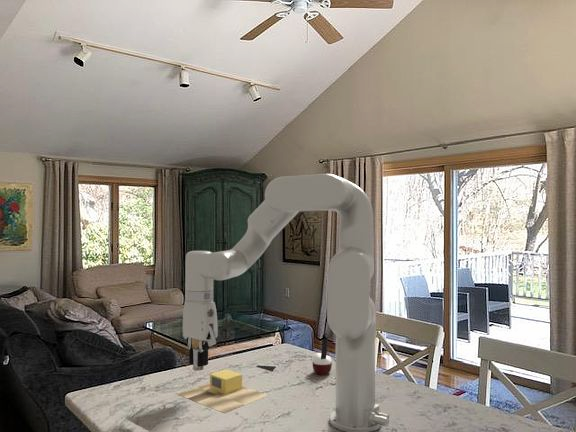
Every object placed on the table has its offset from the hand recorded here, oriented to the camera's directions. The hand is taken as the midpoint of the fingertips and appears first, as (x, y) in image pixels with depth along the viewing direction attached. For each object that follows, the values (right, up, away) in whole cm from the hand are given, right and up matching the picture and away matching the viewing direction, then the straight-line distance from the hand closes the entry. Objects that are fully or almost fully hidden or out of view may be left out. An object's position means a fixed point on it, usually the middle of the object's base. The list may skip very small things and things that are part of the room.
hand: (198, 363), depth 126 cm
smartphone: (+16, -11, +24) cm, 31 cm away
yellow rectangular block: (+7, -9, +7) cm, 13 cm away
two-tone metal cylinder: (0, -1, 0) cm, 1 cm away
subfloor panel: (+6, -10, +2) cm, 12 cm away
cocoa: (+35, -11, +23) cm, 43 cm away
